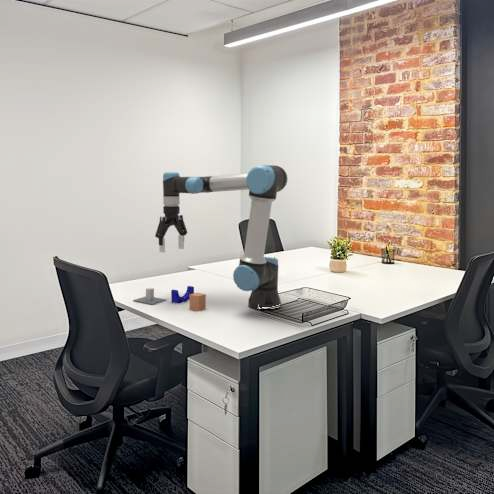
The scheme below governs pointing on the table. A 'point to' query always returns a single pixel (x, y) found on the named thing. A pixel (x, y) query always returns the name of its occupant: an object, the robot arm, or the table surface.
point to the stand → (150, 298)
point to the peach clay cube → (197, 301)
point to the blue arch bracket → (178, 299)
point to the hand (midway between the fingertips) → (171, 250)
